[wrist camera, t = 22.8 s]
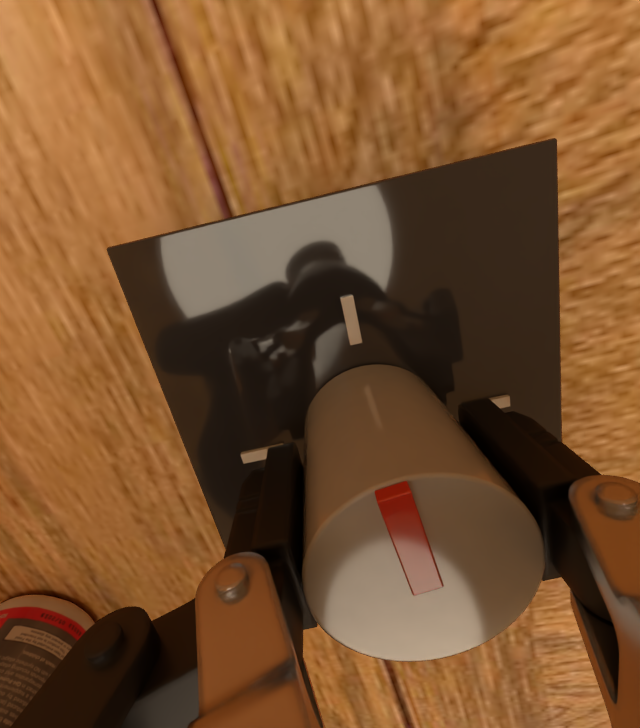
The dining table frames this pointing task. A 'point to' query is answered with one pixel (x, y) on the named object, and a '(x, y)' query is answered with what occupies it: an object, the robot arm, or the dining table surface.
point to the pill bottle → (34, 646)
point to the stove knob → (408, 523)
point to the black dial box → (353, 305)
